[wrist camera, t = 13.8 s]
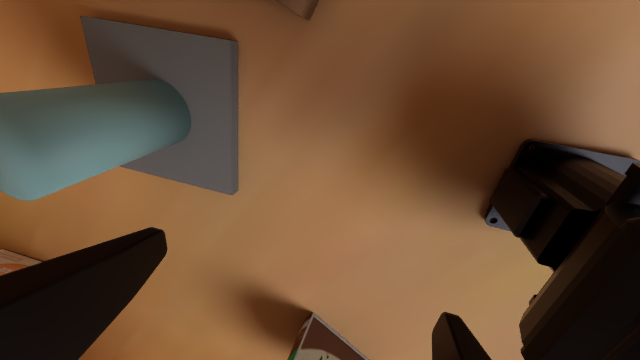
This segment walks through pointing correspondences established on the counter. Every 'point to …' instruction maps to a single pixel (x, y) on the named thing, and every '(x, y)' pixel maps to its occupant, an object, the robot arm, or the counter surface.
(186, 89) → the mat
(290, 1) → the bar
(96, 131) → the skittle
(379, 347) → the counter surface
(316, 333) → the food container
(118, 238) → the robot arm
